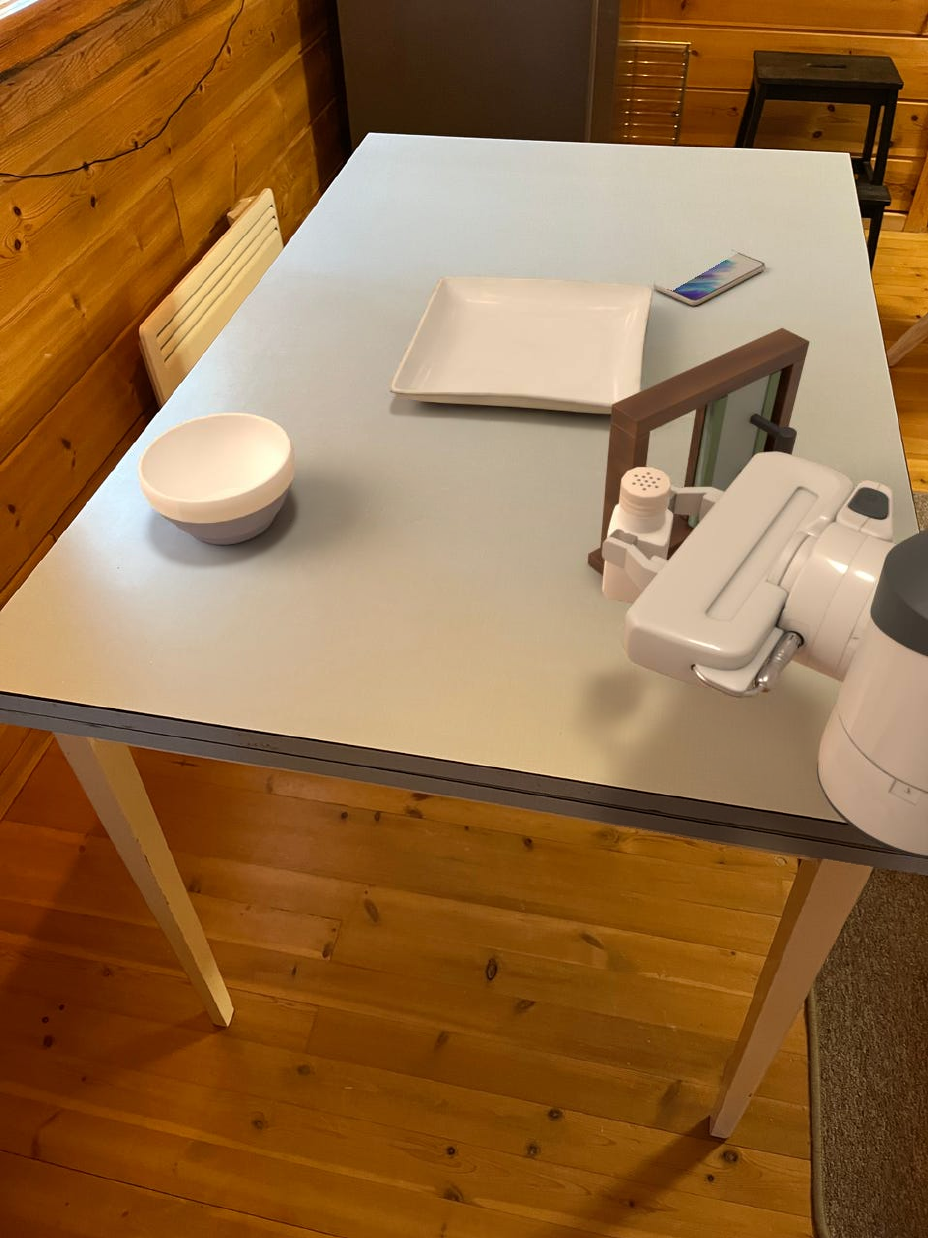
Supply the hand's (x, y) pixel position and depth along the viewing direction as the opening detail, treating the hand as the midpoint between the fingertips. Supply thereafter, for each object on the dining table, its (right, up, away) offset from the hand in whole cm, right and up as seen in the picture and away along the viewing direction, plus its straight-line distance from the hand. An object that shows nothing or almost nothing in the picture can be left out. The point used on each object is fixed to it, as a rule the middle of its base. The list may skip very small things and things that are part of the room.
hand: (629, 518), depth 63 cm
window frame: (+12, -2, +22) cm, 25 cm away
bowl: (-34, +3, +30) cm, 45 cm away
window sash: (+14, +2, +22) cm, 26 cm away
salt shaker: (+1, -5, +4) cm, 6 cm away
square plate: (-3, +24, +48) cm, 54 cm away
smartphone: (+21, +38, +60) cm, 74 cm away
